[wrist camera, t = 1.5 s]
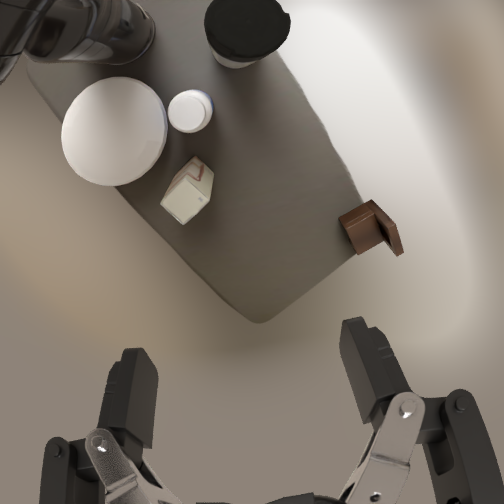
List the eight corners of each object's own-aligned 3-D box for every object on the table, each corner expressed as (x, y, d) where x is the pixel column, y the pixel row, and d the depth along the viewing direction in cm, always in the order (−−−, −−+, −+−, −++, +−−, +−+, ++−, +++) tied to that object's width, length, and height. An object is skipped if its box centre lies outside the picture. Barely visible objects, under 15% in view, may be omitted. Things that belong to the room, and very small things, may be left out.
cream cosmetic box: (195, 154, 41) (186, 175, 33) (215, 173, 43) (212, 200, 35) (171, 177, 43) (158, 204, 34) (191, 195, 45) (183, 226, 37)
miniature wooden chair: (338, 217, 49) (357, 245, 42) (371, 199, 48) (395, 223, 40) (350, 243, 53) (368, 272, 45) (381, 225, 51) (404, 252, 44)
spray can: (237, 18, 30) (249, -30, 14) (270, 49, 33) (309, 26, 17) (202, 47, 32) (182, 20, 16) (235, 78, 35) (244, 76, 19)
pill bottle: (199, 131, 39) (192, 146, 31) (169, 113, 37) (153, 123, 29) (221, 101, 37) (220, 107, 29) (190, 82, 35) (180, 82, 27)
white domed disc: (88, 57, 26) (102, 64, 32) (38, 164, 30) (57, 156, 36) (190, 105, 32) (189, 106, 38) (132, 210, 37) (139, 196, 43)
